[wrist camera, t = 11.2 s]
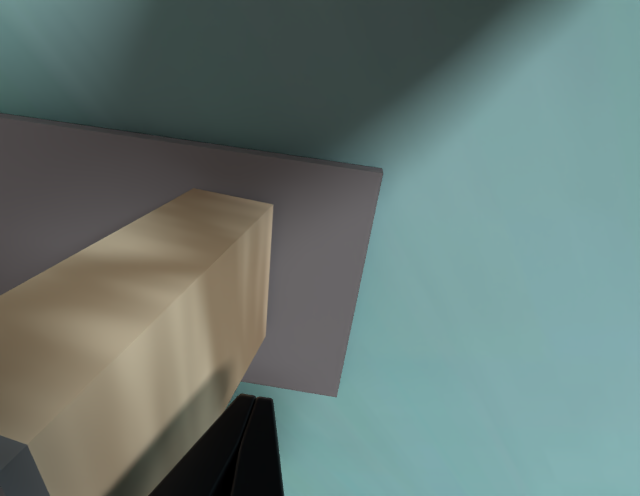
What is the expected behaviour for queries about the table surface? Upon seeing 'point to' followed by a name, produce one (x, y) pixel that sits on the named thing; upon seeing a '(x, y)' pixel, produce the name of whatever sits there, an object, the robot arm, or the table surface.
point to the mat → (171, 182)
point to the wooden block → (131, 348)
